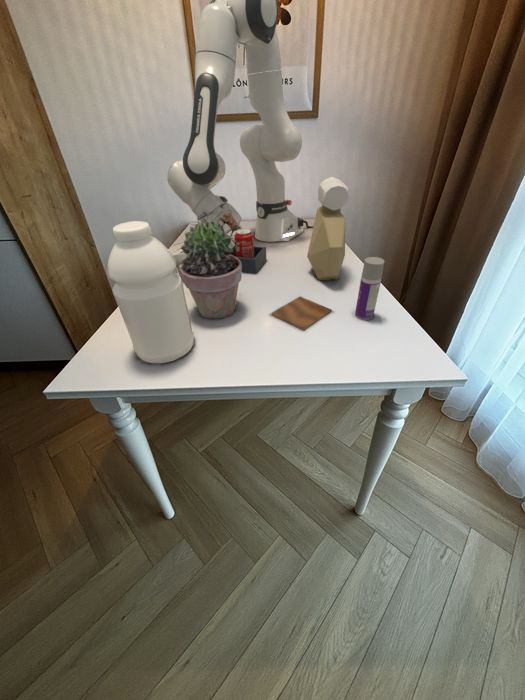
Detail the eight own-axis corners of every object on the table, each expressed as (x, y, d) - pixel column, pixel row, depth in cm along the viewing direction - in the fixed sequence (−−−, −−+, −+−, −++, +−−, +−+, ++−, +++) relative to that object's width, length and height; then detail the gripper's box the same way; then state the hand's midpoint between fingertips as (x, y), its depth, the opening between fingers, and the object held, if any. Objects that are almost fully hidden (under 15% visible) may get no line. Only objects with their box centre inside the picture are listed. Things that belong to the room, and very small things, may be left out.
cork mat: (299, 298, 90) (299, 296, 90) (331, 311, 84) (331, 309, 83) (271, 314, 84) (271, 312, 83) (303, 330, 77) (303, 328, 77)
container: (351, 312, 83) (360, 258, 74) (366, 309, 84) (376, 255, 75) (361, 321, 79) (372, 266, 70) (377, 317, 81) (389, 262, 71)
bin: (236, 257, 116) (235, 244, 113) (266, 260, 113) (266, 247, 110) (224, 270, 107) (222, 256, 104) (256, 273, 104) (255, 259, 101)
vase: (335, 257, 112) (345, 169, 95) (351, 288, 94) (367, 185, 76) (302, 259, 113) (306, 171, 95) (311, 290, 94) (318, 187, 76)
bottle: (199, 328, 80) (176, 213, 62) (189, 363, 69) (158, 236, 51) (145, 330, 80) (107, 216, 63) (126, 365, 69) (75, 239, 52)
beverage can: (243, 260, 114) (240, 227, 106) (258, 263, 111) (256, 229, 103) (233, 267, 109) (230, 232, 102) (248, 270, 107) (246, 235, 99)
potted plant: (167, 311, 87) (143, 218, 72) (224, 288, 97) (214, 202, 81) (200, 338, 76) (180, 236, 61) (261, 310, 86) (257, 215, 70)
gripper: (199, 211, 92) (233, 246, 96) (227, 195, 107) (255, 226, 111) (189, 225, 96) (221, 258, 100) (216, 208, 111) (244, 237, 115)
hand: (239, 241), depth 105 cm, fingers open, 8 cm apart
